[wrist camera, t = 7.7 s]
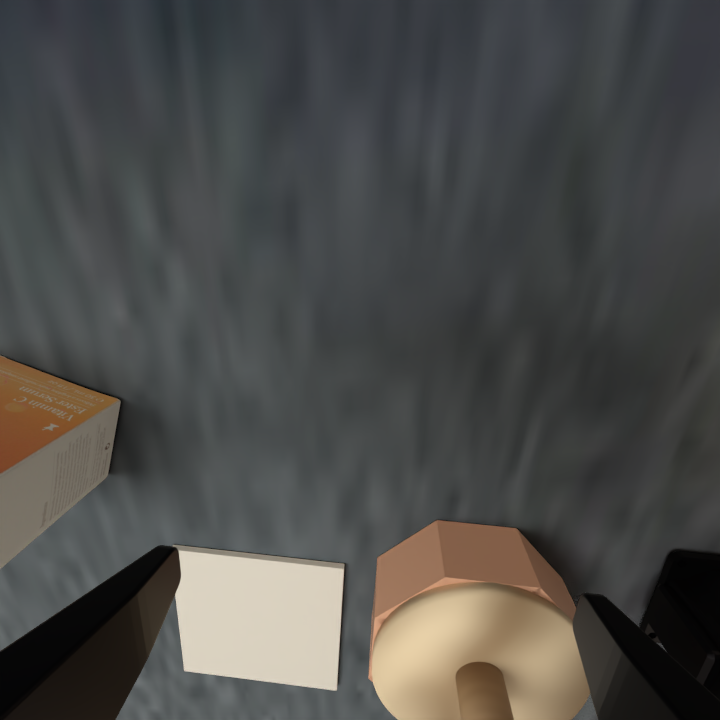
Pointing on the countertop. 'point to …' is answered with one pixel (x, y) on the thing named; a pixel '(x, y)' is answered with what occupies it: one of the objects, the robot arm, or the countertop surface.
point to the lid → (478, 656)
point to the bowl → (462, 566)
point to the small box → (47, 450)
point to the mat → (260, 616)
